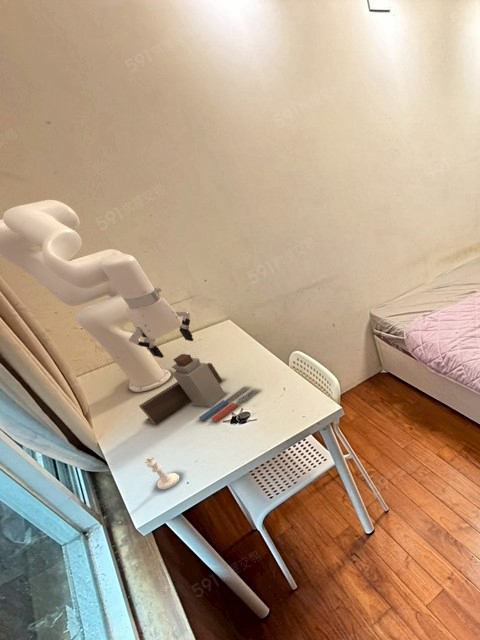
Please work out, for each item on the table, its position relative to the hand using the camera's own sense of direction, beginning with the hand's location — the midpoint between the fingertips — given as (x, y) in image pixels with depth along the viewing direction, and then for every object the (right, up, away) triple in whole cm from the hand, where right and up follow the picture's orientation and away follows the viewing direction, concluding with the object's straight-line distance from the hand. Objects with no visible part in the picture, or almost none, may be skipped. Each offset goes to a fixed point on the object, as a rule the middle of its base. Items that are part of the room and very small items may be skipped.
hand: (175, 348), depth 121 cm
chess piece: (+11, -38, -15) cm, 42 cm away
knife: (+8, -18, +10) cm, 23 cm away
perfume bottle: (+1, -17, +13) cm, 21 cm away
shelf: (-7, -17, +13) cm, 23 cm away
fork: (+13, -19, +9) cm, 25 cm away
